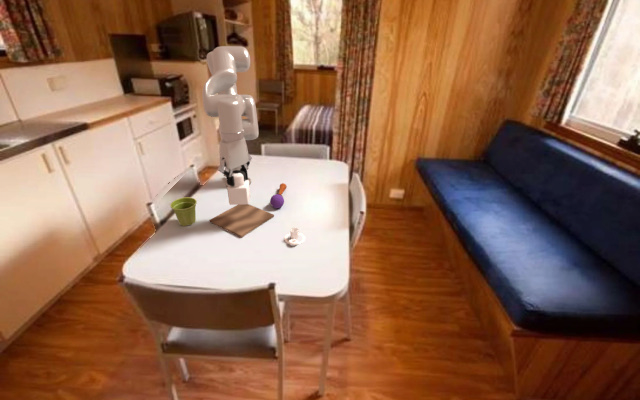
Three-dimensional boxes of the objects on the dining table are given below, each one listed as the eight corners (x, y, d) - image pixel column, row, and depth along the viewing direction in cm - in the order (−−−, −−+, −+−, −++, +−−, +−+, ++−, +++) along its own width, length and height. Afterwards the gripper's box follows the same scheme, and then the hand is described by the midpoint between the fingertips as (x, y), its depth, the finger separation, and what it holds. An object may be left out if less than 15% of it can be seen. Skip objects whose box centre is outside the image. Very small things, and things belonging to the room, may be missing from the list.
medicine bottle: (232, 196, 123) (228, 168, 117) (250, 195, 124) (247, 168, 118) (229, 205, 117) (225, 176, 111) (248, 204, 117) (245, 175, 112)
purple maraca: (290, 182, 147) (284, 199, 129) (288, 193, 150) (281, 211, 132) (278, 179, 147) (270, 196, 129) (276, 190, 149) (268, 208, 131)
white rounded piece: (295, 249, 109) (295, 240, 107) (278, 242, 113) (277, 233, 111) (309, 237, 116) (309, 228, 114) (292, 230, 119) (292, 221, 117)
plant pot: (205, 218, 125) (201, 199, 121) (189, 230, 117) (185, 211, 113) (186, 214, 127) (182, 195, 123) (169, 225, 120) (164, 206, 115)
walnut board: (209, 222, 123) (209, 219, 122) (243, 203, 136) (242, 201, 135) (241, 237, 114) (241, 235, 113) (274, 216, 127) (273, 214, 127)
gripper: (243, 128, 116) (247, 172, 125) (204, 139, 103) (212, 187, 112) (257, 132, 112) (261, 176, 121) (219, 144, 100) (226, 193, 108)
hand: (237, 181), depth 116 cm, fingers closed on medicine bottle, 6 cm apart
